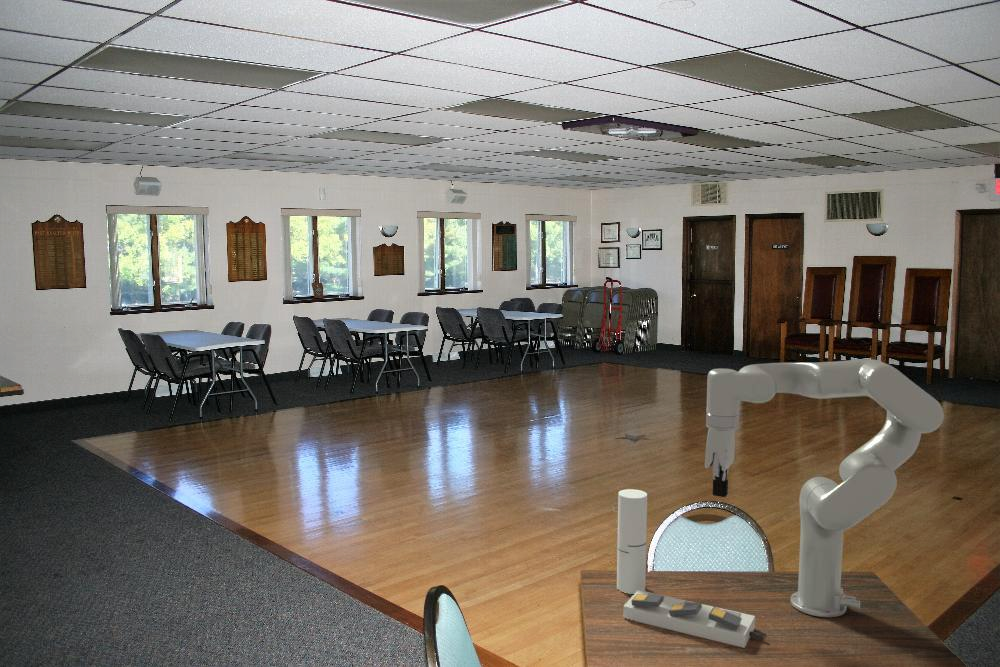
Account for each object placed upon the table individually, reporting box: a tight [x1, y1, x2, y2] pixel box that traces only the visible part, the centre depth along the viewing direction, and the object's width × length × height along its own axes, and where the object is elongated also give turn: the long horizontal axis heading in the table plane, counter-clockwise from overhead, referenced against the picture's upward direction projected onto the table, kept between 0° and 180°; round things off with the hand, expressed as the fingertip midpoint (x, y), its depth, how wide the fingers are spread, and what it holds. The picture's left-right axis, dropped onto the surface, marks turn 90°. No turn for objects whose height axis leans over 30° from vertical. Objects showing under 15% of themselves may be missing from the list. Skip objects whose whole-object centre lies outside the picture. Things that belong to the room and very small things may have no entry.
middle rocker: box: [669, 601, 702, 616], centre depth 184 cm, size 6×4×1 cm, turn 60°
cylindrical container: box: [616, 488, 648, 595], centre depth 203 cm, size 7×7×25 cm
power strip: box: [622, 590, 765, 649], centre depth 185 cm, size 31×10×3 cm, turn 60°
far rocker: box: [631, 594, 664, 607], centre depth 188 cm, size 6×4×1 cm, turn 60°
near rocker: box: [708, 606, 742, 630], centre depth 179 cm, size 6×4×1 cm, turn 61°
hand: (720, 495), depth 194 cm, fingers closed
